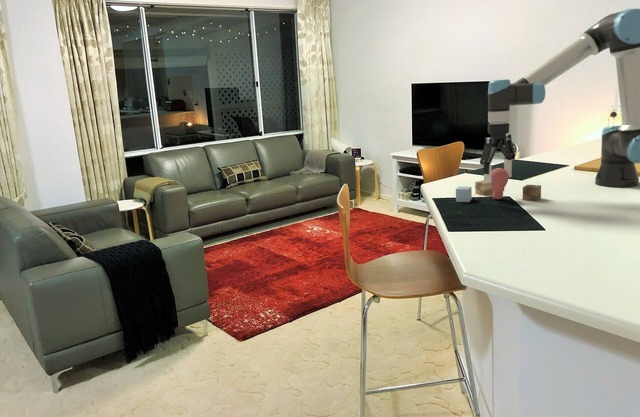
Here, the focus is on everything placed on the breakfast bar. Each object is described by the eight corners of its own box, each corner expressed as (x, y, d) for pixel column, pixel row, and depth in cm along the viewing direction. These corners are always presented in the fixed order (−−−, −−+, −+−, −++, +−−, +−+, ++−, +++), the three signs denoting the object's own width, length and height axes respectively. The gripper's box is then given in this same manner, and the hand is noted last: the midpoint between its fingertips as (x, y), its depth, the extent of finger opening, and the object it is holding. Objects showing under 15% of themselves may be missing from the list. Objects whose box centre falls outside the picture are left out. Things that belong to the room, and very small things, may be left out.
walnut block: (540, 198, 190) (541, 185, 189) (536, 201, 187) (536, 188, 186) (527, 197, 194) (527, 184, 192) (522, 200, 190) (522, 187, 189)
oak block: (493, 193, 204) (493, 181, 203) (484, 195, 202) (484, 183, 201) (484, 192, 209) (484, 180, 207) (475, 193, 207) (475, 181, 205)
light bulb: (509, 197, 196) (509, 166, 193) (507, 201, 189) (507, 169, 187) (490, 197, 199) (490, 166, 196) (487, 201, 192) (487, 169, 190)
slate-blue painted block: (471, 199, 198) (471, 186, 197) (469, 202, 194) (469, 189, 192) (458, 199, 200) (458, 186, 199) (456, 202, 196) (455, 189, 195)
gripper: (507, 119, 198) (506, 173, 203) (469, 126, 183) (469, 184, 188) (525, 119, 192) (524, 175, 197) (488, 126, 177) (487, 186, 182)
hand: (497, 179), depth 192 cm, fingers open, 13 cm apart
